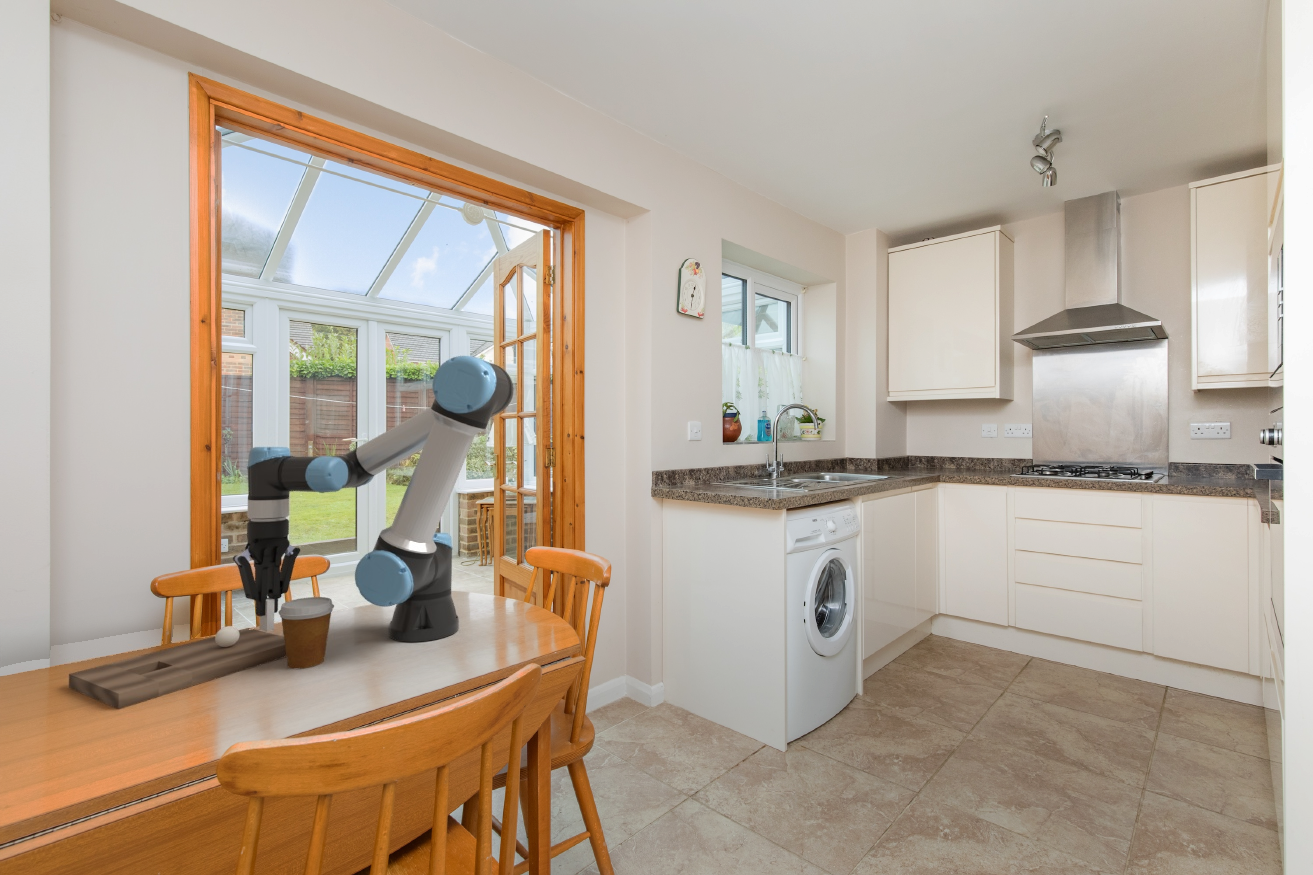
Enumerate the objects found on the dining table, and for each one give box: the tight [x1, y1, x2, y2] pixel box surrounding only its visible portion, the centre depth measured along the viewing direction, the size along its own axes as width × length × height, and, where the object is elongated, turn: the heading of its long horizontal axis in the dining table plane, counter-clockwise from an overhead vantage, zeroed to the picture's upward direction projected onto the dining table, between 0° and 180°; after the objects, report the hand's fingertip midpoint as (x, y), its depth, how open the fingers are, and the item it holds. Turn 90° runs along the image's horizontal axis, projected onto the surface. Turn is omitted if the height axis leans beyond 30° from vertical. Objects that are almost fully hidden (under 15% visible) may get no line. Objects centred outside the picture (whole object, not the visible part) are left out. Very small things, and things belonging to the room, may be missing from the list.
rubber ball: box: [214, 625, 240, 647], centre depth 121 cm, size 4×4×4 cm
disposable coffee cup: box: [278, 596, 335, 669], centre depth 119 cm, size 10×10×12 cm
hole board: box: [68, 627, 287, 710], centre depth 115 cm, size 18×30×2 cm, turn 153°
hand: (266, 629), depth 128 cm, fingers closed
